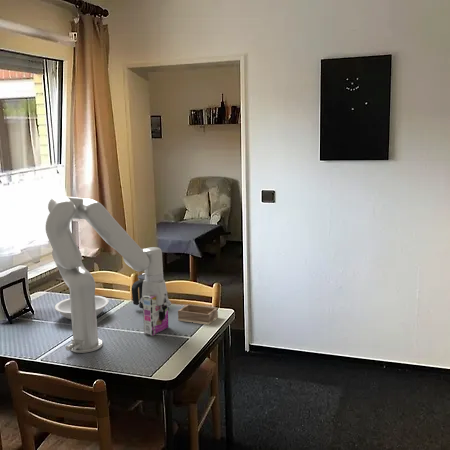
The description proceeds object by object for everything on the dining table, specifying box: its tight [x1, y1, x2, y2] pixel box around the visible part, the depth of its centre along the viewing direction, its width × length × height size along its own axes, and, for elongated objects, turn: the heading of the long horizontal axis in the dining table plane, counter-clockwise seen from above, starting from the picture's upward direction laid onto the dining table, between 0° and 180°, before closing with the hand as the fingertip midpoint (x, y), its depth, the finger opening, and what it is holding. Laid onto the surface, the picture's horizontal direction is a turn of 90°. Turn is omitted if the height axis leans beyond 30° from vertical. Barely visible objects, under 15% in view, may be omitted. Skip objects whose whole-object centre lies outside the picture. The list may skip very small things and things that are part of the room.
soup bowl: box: [54, 295, 110, 320], centre depth 243 cm, size 24×24×7 cm
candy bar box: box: [142, 295, 169, 336], centre depth 223 cm, size 11×5×16 cm, turn 149°
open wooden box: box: [177, 304, 219, 326], centre depth 236 cm, size 9×15×4 cm, turn 65°
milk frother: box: [131, 273, 145, 309], centre depth 252 cm, size 14×16×15 cm
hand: (156, 318), depth 224 cm, fingers closed on candy bar box, 5 cm apart
